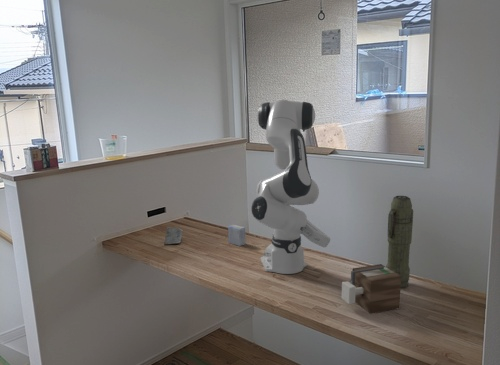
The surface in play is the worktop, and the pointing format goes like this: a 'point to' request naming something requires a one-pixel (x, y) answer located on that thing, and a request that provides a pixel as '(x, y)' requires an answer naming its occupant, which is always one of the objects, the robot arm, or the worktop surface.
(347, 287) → the peg
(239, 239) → the medicine box
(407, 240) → the olive green tall piece
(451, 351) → the worktop surface
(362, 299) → the block
